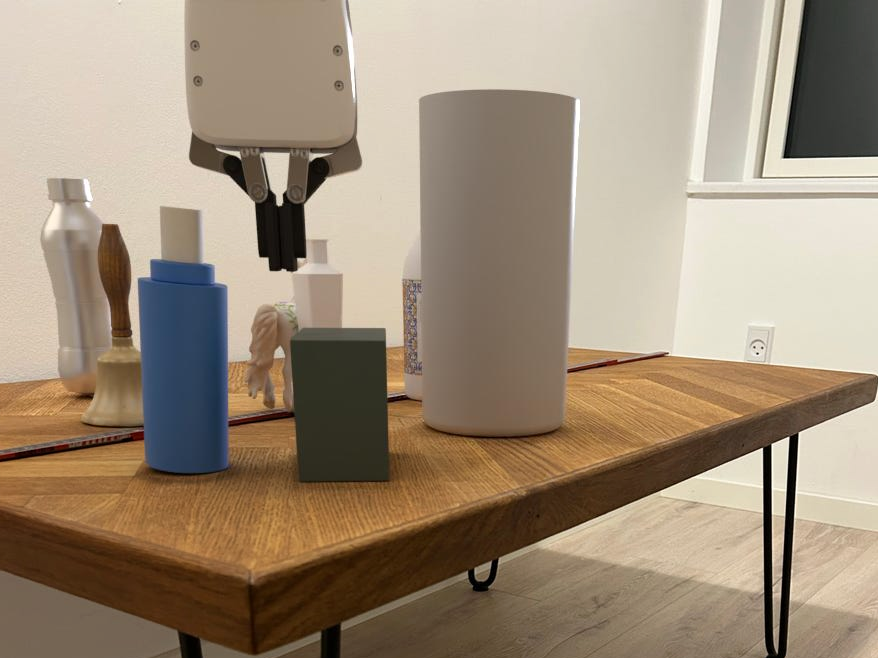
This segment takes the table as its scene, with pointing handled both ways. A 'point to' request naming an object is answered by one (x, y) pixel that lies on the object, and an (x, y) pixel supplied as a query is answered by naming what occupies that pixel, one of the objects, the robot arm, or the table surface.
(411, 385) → the bath foam
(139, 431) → the table surface
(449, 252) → the cylinder vase
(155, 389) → the blue bottle
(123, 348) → the hand bell
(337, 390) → the green block
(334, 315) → the perfume bottle
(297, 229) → the robot arm
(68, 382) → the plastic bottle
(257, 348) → the unicorn figurine
